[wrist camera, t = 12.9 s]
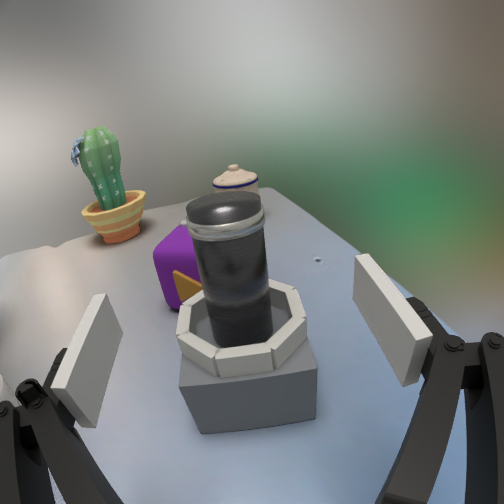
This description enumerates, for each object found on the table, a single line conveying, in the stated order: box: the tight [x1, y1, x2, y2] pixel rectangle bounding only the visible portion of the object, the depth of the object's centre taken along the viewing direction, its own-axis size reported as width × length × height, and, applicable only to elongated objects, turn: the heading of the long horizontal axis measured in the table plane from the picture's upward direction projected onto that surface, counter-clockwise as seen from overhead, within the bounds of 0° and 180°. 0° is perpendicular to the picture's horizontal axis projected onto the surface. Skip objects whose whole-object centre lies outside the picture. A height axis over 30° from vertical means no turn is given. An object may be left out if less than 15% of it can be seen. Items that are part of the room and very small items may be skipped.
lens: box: [186, 191, 273, 348], centre depth 24 cm, size 5×5×11 cm
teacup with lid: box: [213, 165, 259, 195], centre depth 63 cm, size 12×9×12 cm
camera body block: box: [176, 279, 317, 434], centre depth 27 cm, size 10×11×9 cm
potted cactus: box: [71, 126, 146, 244], centre depth 63 cm, size 15×15×25 cm
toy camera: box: [153, 220, 203, 310], centre depth 41 cm, size 11×14×10 cm
